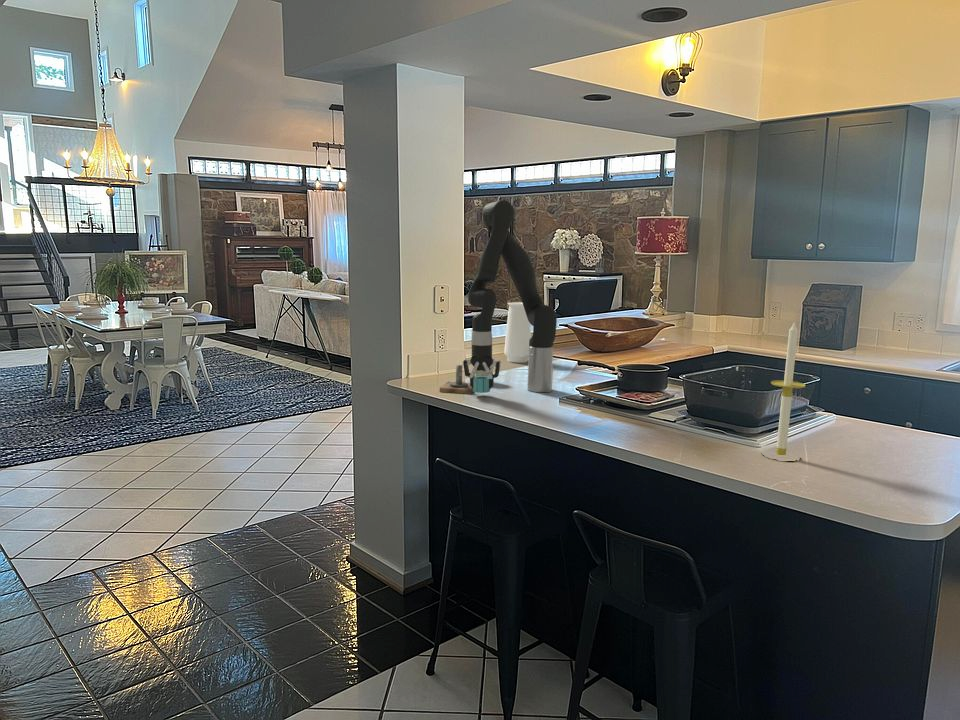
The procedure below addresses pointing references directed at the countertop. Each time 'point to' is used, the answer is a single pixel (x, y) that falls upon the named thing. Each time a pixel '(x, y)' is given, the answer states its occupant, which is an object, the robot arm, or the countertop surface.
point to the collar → (481, 384)
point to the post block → (457, 384)
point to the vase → (517, 334)
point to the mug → (483, 373)
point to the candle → (787, 391)
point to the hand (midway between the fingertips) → (481, 387)
